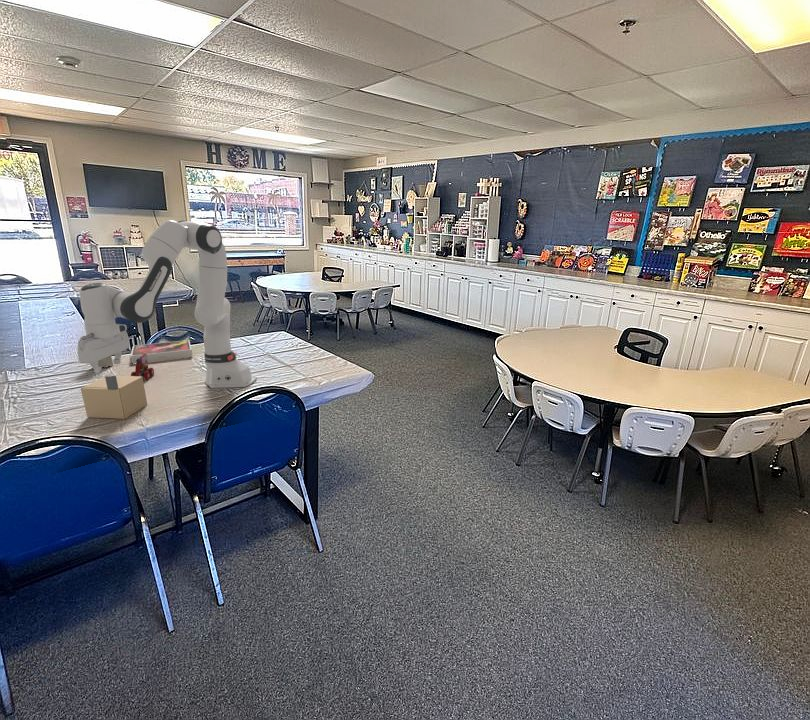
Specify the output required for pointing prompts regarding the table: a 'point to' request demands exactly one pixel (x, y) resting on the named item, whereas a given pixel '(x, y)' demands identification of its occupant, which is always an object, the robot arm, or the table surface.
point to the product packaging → (162, 351)
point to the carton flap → (103, 400)
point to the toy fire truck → (143, 368)
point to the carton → (126, 392)
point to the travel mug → (105, 362)
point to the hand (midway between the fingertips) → (108, 367)
